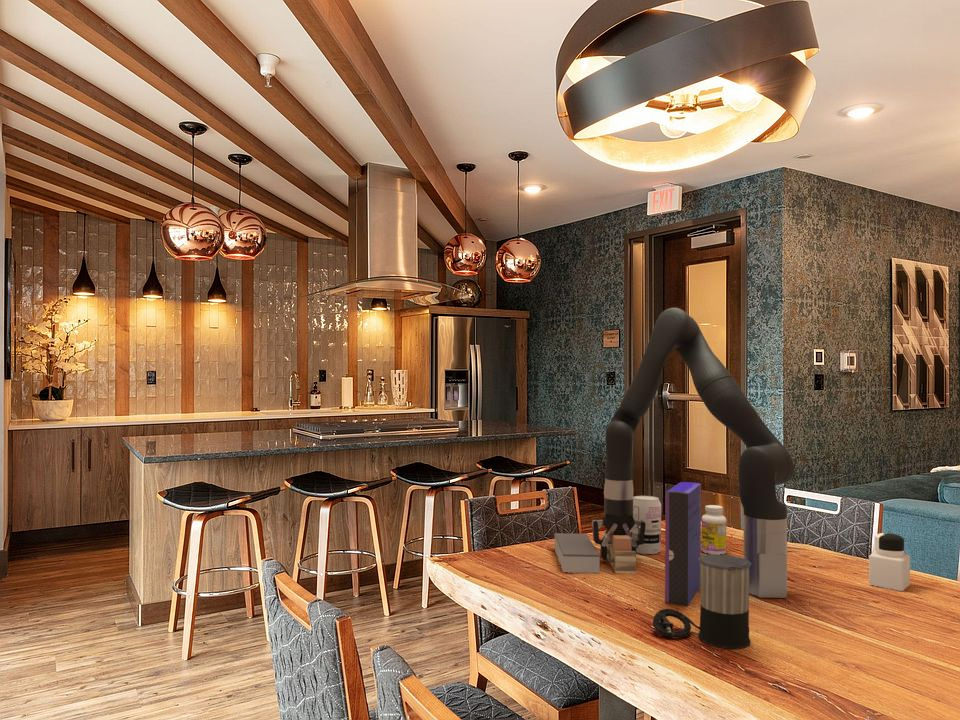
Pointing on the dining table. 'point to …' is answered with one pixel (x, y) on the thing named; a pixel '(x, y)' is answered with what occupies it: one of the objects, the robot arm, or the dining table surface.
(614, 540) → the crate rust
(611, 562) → the pallet
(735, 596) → the milk frother
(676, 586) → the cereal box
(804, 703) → the dining table surface
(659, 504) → the supplement can
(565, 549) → the dock
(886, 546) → the white plastic bottle
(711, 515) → the supplement bottle
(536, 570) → the dining table surface
